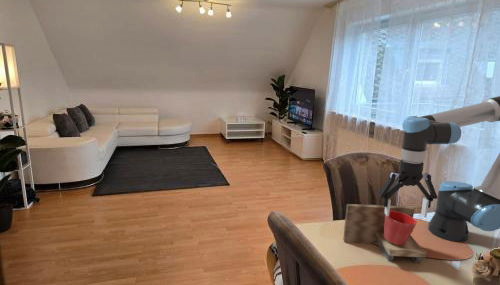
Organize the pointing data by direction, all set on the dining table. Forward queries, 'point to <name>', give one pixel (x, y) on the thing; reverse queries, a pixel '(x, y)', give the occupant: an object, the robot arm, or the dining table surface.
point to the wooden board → (368, 221)
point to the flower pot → (398, 227)
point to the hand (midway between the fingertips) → (405, 215)
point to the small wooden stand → (400, 248)
